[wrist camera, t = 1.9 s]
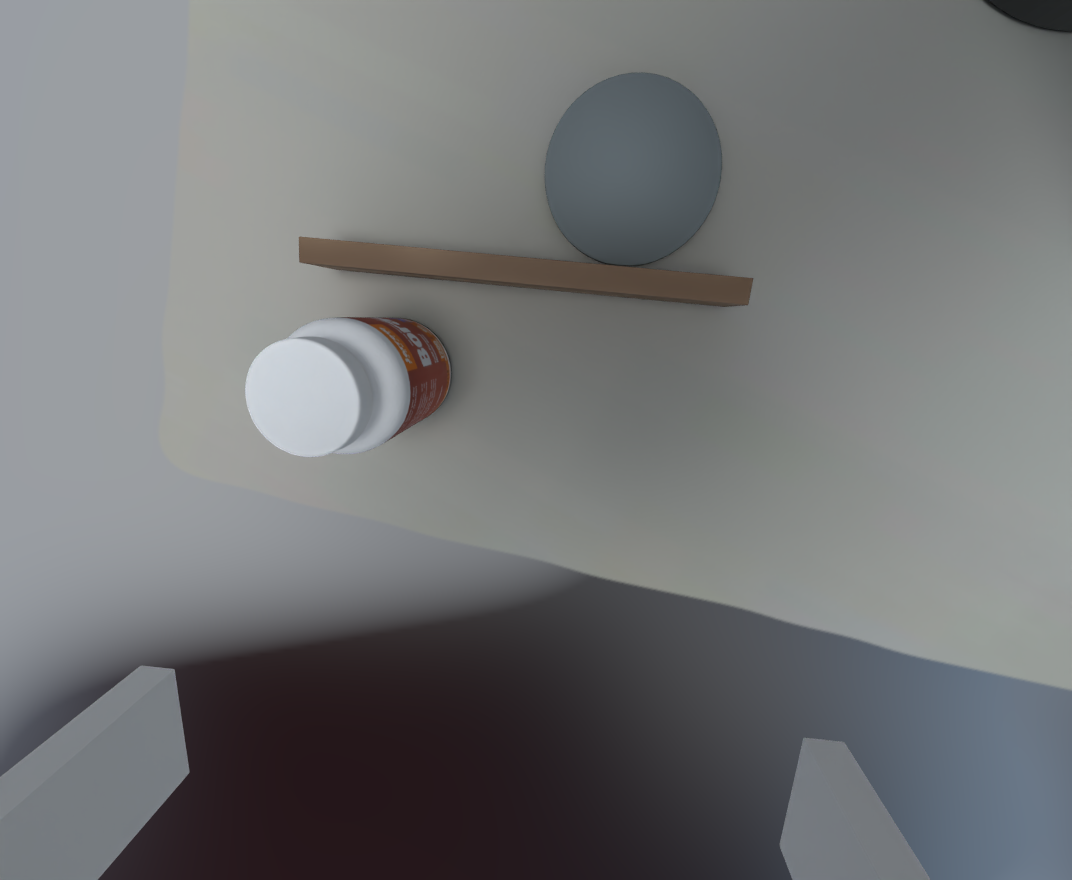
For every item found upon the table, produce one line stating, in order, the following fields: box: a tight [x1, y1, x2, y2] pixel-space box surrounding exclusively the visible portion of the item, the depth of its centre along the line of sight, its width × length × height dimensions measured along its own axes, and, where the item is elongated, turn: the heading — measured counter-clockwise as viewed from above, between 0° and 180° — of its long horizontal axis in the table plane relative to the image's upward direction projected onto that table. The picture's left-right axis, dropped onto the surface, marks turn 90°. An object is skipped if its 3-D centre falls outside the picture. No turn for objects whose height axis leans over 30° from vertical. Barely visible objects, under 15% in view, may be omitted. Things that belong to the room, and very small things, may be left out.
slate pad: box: [545, 73, 722, 266], centre depth 26 cm, size 9×9×1 cm
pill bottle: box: [245, 317, 451, 457], centre depth 24 cm, size 6×6×11 cm
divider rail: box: [299, 237, 753, 307], centre depth 26 cm, size 1×22×4 cm, turn 85°
